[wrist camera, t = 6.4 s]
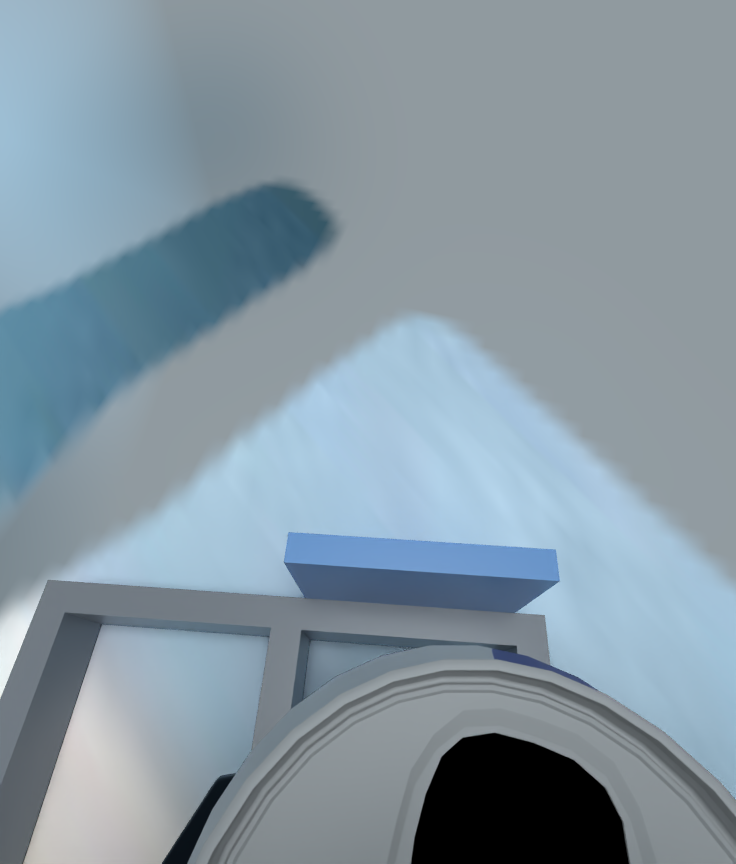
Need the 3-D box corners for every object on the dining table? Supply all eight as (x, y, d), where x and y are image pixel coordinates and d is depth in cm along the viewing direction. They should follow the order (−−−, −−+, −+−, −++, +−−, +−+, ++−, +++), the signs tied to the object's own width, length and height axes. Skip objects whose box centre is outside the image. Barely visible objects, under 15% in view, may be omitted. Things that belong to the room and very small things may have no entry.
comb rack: (559, 1019, 13) (721, 1288, 7) (-43, 955, 14) (-371, 1147, 8) (522, 604, 18) (594, 552, 12) (92, 574, 19) (-37, 511, 13)
